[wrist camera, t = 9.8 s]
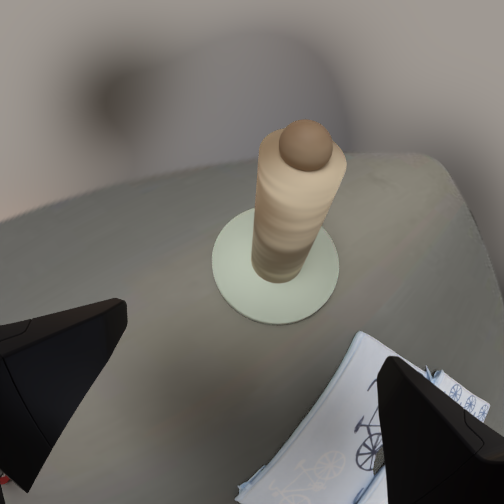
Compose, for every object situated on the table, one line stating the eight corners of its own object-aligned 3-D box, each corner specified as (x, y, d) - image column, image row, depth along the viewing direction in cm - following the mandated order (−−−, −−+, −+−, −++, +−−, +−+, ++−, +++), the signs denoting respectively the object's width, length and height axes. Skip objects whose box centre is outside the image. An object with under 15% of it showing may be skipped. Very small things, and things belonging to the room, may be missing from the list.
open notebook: (391, 551, 11) (400, 558, 9) (227, 491, 16) (225, 500, 14) (484, 405, 18) (496, 404, 17) (357, 317, 23) (367, 311, 21)
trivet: (355, 254, 25) (358, 249, 25) (291, 351, 21) (294, 350, 20) (261, 193, 28) (262, 187, 27) (187, 273, 24) (185, 268, 23)
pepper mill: (312, 268, 24) (376, 144, 11) (267, 292, 22) (299, 171, 10) (285, 228, 25) (317, 94, 13) (241, 249, 24) (243, 110, 12)
